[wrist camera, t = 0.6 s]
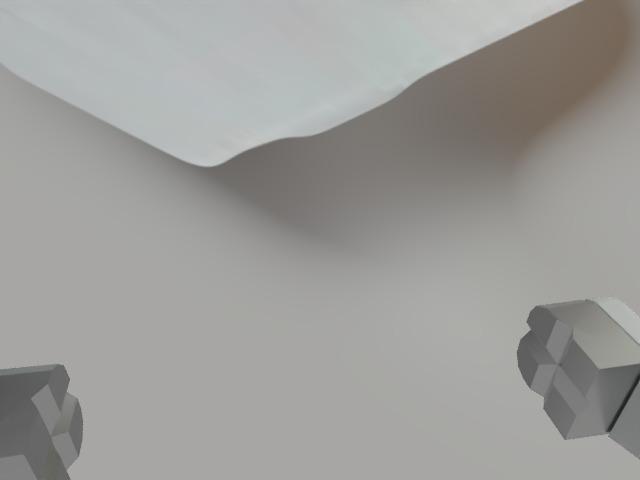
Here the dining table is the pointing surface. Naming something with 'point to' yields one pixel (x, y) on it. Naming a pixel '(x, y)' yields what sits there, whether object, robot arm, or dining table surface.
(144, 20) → the dining table surface
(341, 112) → the dining table surface
